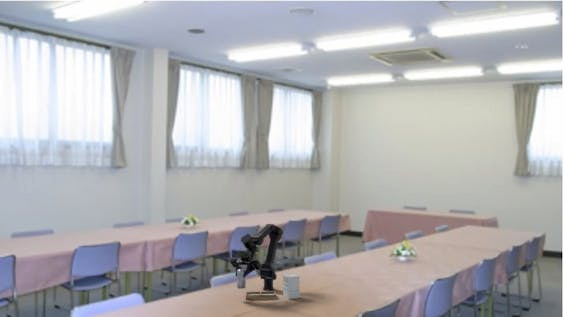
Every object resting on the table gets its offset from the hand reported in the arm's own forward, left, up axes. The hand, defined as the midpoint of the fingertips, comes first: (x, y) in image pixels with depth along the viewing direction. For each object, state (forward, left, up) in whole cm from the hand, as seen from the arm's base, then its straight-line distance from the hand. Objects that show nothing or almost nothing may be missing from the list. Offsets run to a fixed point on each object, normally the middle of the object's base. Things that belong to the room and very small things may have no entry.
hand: (240, 276), depth 288 cm
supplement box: (-6, +29, -14) cm, 33 cm away
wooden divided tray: (-6, +12, -13) cm, 19 cm away
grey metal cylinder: (-1, +1, -7) cm, 7 cm away
